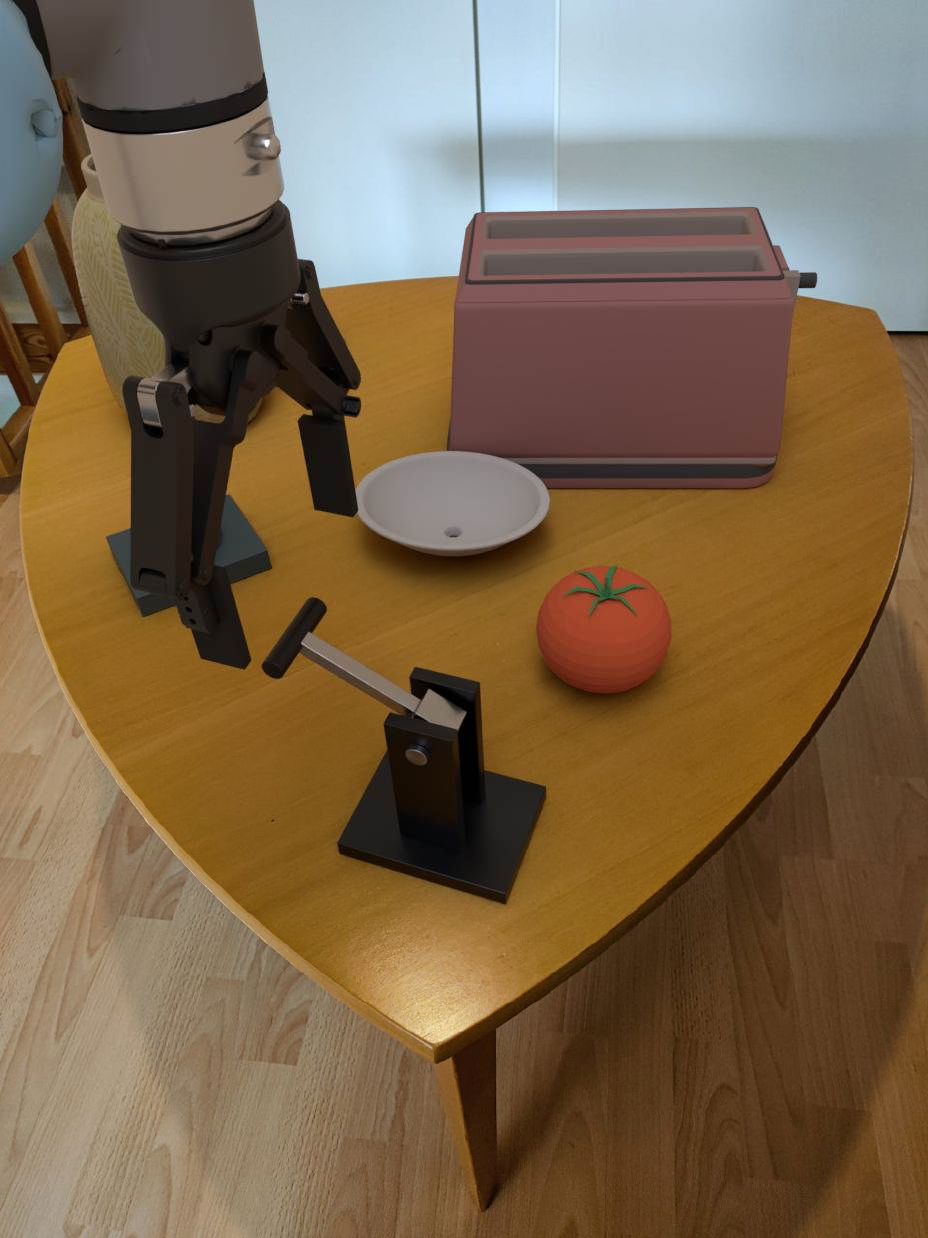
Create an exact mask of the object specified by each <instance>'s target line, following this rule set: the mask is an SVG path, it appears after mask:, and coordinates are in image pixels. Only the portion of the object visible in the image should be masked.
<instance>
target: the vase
mask: <svg viewBox="0 0 928 1238" xmlns="http://www.w3.org/2000/svg"><path fill="white" fill-rule="evenodd" d="M80 169H81V172H82V175H83V178H84V182H85V184H86V186H87V187H86V188H85V189H84V191H83V192H82V194H81V195H80V197H79V199H78V201H77V203H76V206H75V209H74V211H73V215H72V220H71V235H70V236H71V248H72V256H73V262H74V269H75V275H76V280H77V285H78V288H79V294H80V297H81V302H82V305H83V309H84V313H85V317H86V321H87V325H88V328H89V331H90V335H91V337H92V341H93V344H94V348H95V350H96V354H97V357H98V360H99V363H100V366H101V368H102V372H103V374H104V377H105V379H106V382H107V385H108V387H109V390H110V392H111V395H112V397H113V398H114V401H115V402H116V404H117V405H118V407H119V408H120V409H121V410H122V412H123V413H124V415H126V416H127V417H128V415H127V411H126V407H125V402H124V398H123V392H122V388H123V383H124V381H125V379H126V378H127V377H128V376H131V375H133V376H139V377H145V378H151V377H152V376H154V375H155V374H157V373H158V372H160V371H161V370H162V369H164V368H165V344H164V337H163V335H162V333H161V332H160V330H159V329H158V328H157V327H156V326H155V324H154V323H153V322H152V321H151V320H150V319H149V318H148V317H147V316H146V315H144V314H143V313H142V312H141V310H140V309H139V308H138V306H137V304H136V302H135V299H134V295H133V292H132V288H131V285H130V282H129V278H128V275H127V271H126V268H125V265H124V261H123V258H122V254H121V251H120V248H119V244H118V241H117V233H118V230H119V228H120V227H121V224H120V223H118V222H116V221H115V220H113V219H112V217H111V215H110V214H109V212H108V210H107V207H106V204H105V200H104V197H103V193H102V189H101V186H100V182H99V179H98V175H97V172H96V168H95V164H94V161H93V157H92V154H91V153H90V154H88V155H87V156H85V158H83V160H82V161H81V164H80ZM264 397H265V396H263V397H261V399H260V400H259V402H258V404H257V406H256V407H255V409H254V410H253V411H252V412H251V413H250V415H249V417H248V423H250V422H251V421H252V420H253V419H254V418H255V417H256V415H257V414H258V412H259V411H260V409H261V406H262V404H263V401H264ZM196 410H197V411H196V415H195V419H196V420H201V421H206V422H212V423H222V422H223V421H224V419H225V416H221V415H215V414H210V413H208V412H206V411H204V410H203V409H202V408H200V407H199V406H198V405H197V404H196Z"/></svg>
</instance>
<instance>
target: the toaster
mask: <svg viewBox="0 0 928 1238" xmlns="http://www.w3.org/2000/svg"><path fill="white" fill-rule="evenodd" d="M464 231H465V232H464V236H463V237H464V238H463V245H462V251H461V258H460V263H459V270H458V272H459V273H458V278H457V286H456V292H455V299H454V306H453V313H454V314H453V336H452V361H451V363H452V364H451V366H452V367H451V369H452V370H451V392H450V394H451V395H450V415H449V416H450V417H449V424H448V432H447V433H448V434H447V438H446V439H447V440H446V451H463V452H474V453H481V454H487V455H491V456H496V457H499V458H503V459H506V460H509V461H511V462H514V463H516V464H518V465H520V466H522V467H524V468H526V469H528V470H529V471H531V472H532V473H533V474H535V475H536V476H537V477H538V478H539V479H540V480H541V481H542V482H543V483H544V485H545V486H546V488H547V489H749V488H758V487H759V486H762V485H764V484H766V483H767V482H769V480H770V479H771V478H772V477H773V476H774V475H775V469H776V464H777V461H778V454H779V452H780V449H781V447H782V446H781V445H782V436H783V435H782V434H783V423H784V412H785V403H786V391H787V390H786V389H787V381H788V380H787V379H788V372H789V371H788V370H789V369H788V368H789V358H790V347H791V339H792V325H793V318H794V312H795V308H796V302H797V297H798V292H799V289H815V288H816V287H817V283H818V274H817V272H816V271H815V272H814V271H812V272H810V271H808V272H800V270H798V269H791V270H790V267H789V265H788V263H787V261H786V257H785V256H784V252H783V250H782V247H781V245H779V244H773V241H772V239H771V236H770V234H769V232H768V229H767V226H766V224H765V222H764V220H763V217H762V215H761V212H760V209H759V208H758V207H756V206H736V207H735V206H731V207H728V206H727V207H687V208H686V207H684V208H683V207H682V208H679V207H678V208H677V207H676V208H637V209H636V208H635V209H634V208H632V209H584V210H582V209H581V210H535V211H534V210H531V211H529V210H528V211H527V210H526V211H525V210H524V211H481V212H475V213H474V214H473V217H472V218H471V220H470V221H469V223H468V224H467V226H466V227H465V230H464Z"/></svg>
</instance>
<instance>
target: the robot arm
mask: <svg viewBox="0 0 928 1238" xmlns="http://www.w3.org/2000/svg"><path fill="white" fill-rule="evenodd" d="M254 1H255V0H0V266H2V265H4V264H5V263H7V262H8V261H9V260H10V259H12V258H13V257H14V256H15V255H16V254H17V253H19V252H20V251H21V250H22V249H23V248H24V246H26V244H28V243H29V241H30V240H31V239H32V238H33V237H34V236H35V235H36V233H37V231H38V230H39V229H40V227H41V225H42V224H43V223H44V221H45V219H46V217H47V215H48V213H49V211H50V209H51V207H52V205H53V203H54V199H55V196H56V193H57V190H58V187H59V183H60V180H61V172H62V167H63V159H64V158H63V157H64V156H63V155H64V134H63V133H64V132H63V118H64V117H63V112H62V109H61V108H60V105H59V101H58V98H57V94H56V91H55V87H54V84H53V81H55V80H59V79H65V78H69V80H70V82H71V85H72V87H73V90H74V92H75V98H76V102H77V106H78V109H79V112H80V118H81V121H82V125H83V129H84V132H85V136H86V140H87V143H88V146H89V150H90V154H92V157H93V161H94V164H95V168H96V172H97V175H98V179H99V182H100V186H101V189H102V193H103V197H104V200H105V204H106V207H107V210H108V212H109V214H110V215H111V217H112V219H113V220H115V221H116V222H118V223H120V224H121V227H120V228H119V230H118V233H117V241H118V244H119V248H120V251H121V254H122V258H123V261H124V265H125V268H126V271H127V275H128V278H129V282H130V285H131V288H132V292H133V295H134V299H135V302H136V304H137V306H138V308H139V309H140V310H141V312H142V313H143V314H144V315H146V316H147V317H148V318H149V319H150V320H151V321H152V322H153V323H154V324H155V326H156V327H157V328H158V329H159V330H160V332H161V333H162V335H163V337H164V344H165V368H164V369H162V370H161V371H160V372H158V373H157V374H155V375H154V376H152V377H151V378H145V377H139V376H133V375H131V376H128V377H127V378H126V379H125V381H124V383H123V388H122V392H123V398H124V402H125V407H126V411H127V415H128V416H127V415H126V416H127V418H128V419H127V420H128V423H129V428H130V528H131V543H130V581H131V586H132V588H134V589H135V590H139V591H143V592H148V593H152V594H156V595H160V596H165V597H169V598H173V599H174V601H175V604H176V605H175V607H176V609H177V612H178V615H179V619H180V621H181V624H182V625H183V626H184V627H185V628H187V629H189V630H190V631H191V634H192V637H193V640H194V644H195V646H196V649H197V652H198V655H199V658H200V660H203V661H208V662H211V663H215V664H219V665H224V666H227V667H231V668H235V669H240V670H244V671H245V670H246V669H247V668H248V666H249V665H250V663H251V662H252V660H253V659H252V656H251V653H250V649H249V646H248V642H247V639H246V635H245V630H244V628H243V625H242V621H241V617H240V613H239V610H238V607H237V603H236V600H235V596H234V591H233V587H232V585H231V584H230V581H229V578H228V574H227V571H226V568H225V567H221V566H216V565H214V563H215V557H216V551H217V545H218V539H219V533H220V527H221V521H222V515H223V509H224V503H225V497H226V495H227V492H228V491H227V490H228V486H229V480H230V473H231V467H232V460H233V456H234V449H235V447H236V446H238V445H240V444H241V443H243V442H244V440H245V438H246V433H247V427H248V423H249V422H248V417H249V415H250V413H251V412H252V411H253V410H254V409H255V407H256V406H257V404H258V402H259V400H260V399H261V397H263V396H264V397H265V396H267V395H269V394H270V393H271V392H273V390H274V389H275V388H276V387H277V388H278V389H280V391H282V392H283V393H284V394H285V395H287V396H288V397H289V398H290V399H292V400H293V401H294V402H296V403H297V404H298V405H300V406H301V407H302V408H303V409H305V410H307V411H311V414H307V413H302V415H300V417H299V418H298V419H297V426H298V431H299V437H300V441H301V446H302V453H303V457H304V462H305V467H306V473H307V474H306V475H307V479H308V485H309V489H310V495H311V500H312V504H313V509H314V511H319V512H323V513H327V514H328V513H329V514H333V515H339V516H343V517H349V518H355V516H356V514H357V512H358V504H357V497H356V491H355V490H356V484H355V479H354V472H353V466H352V459H351V452H350V445H349V439H348V431H347V426H346V419H345V417H350V418H355V419H356V418H357V417H359V416H360V414H361V411H362V399H361V397H359V396H356V395H355V396H354V395H348V394H349V392H350V390H351V391H357V390H358V389H359V387H360V385H361V382H362V376H361V375H362V374H361V371H360V369H359V367H358V365H357V363H356V361H355V359H354V357H353V355H352V353H351V351H350V349H349V347H348V345H347V342H346V340H345V341H344V339H345V338H344V336H343V335H342V333H341V331H340V329H339V327H338V325H337V323H336V321H335V320H334V317H333V316H332V314H331V311H330V310H329V308H328V305H327V304H326V302H325V300H324V298H323V296H322V293H321V288H320V283H319V279H318V274H317V270H316V266H315V262H314V261H313V260H311V259H303V258H298V252H297V245H296V240H295V234H294V229H293V223H292V217H291V212H290V209H289V208H288V207H287V205H286V204H285V203H283V202H282V201H281V200H280V199H281V197H282V195H283V194H284V191H285V181H284V176H283V170H282V165H281V159H280V155H281V152H282V146H281V140H280V139H279V138H278V136H277V135H276V132H275V124H274V120H273V114H272V109H271V104H270V103H271V102H270V98H269V88H268V84H267V78H266V77H267V76H266V72H265V67H264V61H263V54H262V47H261V41H260V34H259V28H258V21H257V20H258V19H257V13H256V7H255V2H254ZM342 336H343V337H342ZM343 338H344V339H343ZM345 342H346V343H345ZM196 404H197V405H198V406H199V407H200V408H202V409H203V410H204V411H206V412H208V413H210V414H215V415H221V416H225V419H224V421H223V422H222V423H212V422H206V421H201V420H196V419H195V415H196V411H197V410H196ZM191 553H192V554H193V558H192V557H191Z"/></svg>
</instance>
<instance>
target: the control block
mask: <svg viewBox="0 0 928 1238" xmlns="http://www.w3.org/2000/svg"><path fill="white" fill-rule="evenodd" d="M105 539H106V541H107V544H108V547H109V551H110V552H111V555H112V558H113V559H114V561H115V563H116V565H117V568H118V569H119V571H120V573H121V575H122V578H123V580H124V582H125V583H126V585H127V587H128V590H129V592H130V594H131V595H132V598H133V600H134V602H135V603H136V606H137V609H138V610H139V612H140V614H141V616H142V617H146V616H150V615H151V614H154V613H157V612H160V611H162V610H165V609H168V608H170V607H172V606H173V607H174V606H176V604H175V601H174V599H173V598H169V597H165V596H160V595H156V594H152V593H148V592H143V591H139V590H135V589H134V588H132V586H131V581H130V543H131V527H129V528H127V529H123V530H121V531H118V532H115V533H112V534H109V535H107V536H105ZM191 557H192V558H193V554H192V553H191ZM214 565H216V566H221V567H225V568H226V571H227V574H228V578H229V581H230V585H231V584H234V583H236V582H240V581H242V580H245V579H247V578H250V577H253V576H256V575H257V574H260V573H263V572H265V571H268V570H271V569H272V568H273V566H272V561H271V558H270V553H269V550H268V548H267V546H266V545H265V543H264V542H263V541H262V539H261V538H260V537H259V534H258V533H257V532H256V530H255V529H254V527H253V526H252V525H251V522H250V521H249V520H248V519H247V517H246V516H245V514H244V513H243V512H242V510H241V509H240V507H239V506H238V504H237V503H236V501H235V500H234V498H233V497H232V495H231V494H230V493H228V494H226V497H225V503H224V509H223V515H222V521H221V527H220V533H219V539H218V545H217V551H216V557H215V563H214Z"/></svg>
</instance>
